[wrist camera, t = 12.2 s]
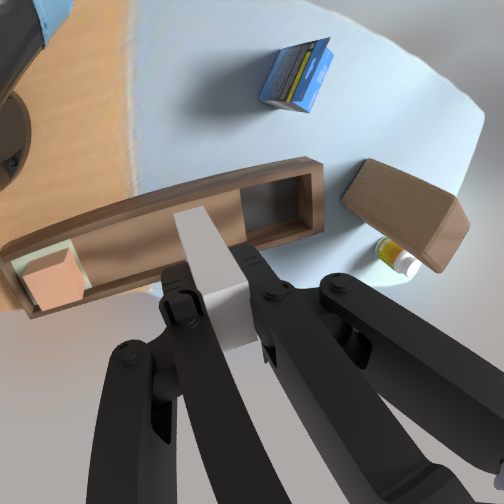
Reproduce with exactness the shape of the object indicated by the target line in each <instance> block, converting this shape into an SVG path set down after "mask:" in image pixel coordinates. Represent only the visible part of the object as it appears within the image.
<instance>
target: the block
mask: <svg viewBox="0 0 504 504" xmlns="http://www.w3.org/2000/svg"><path fill="white" fill-rule="evenodd" d="M341 201H342V203H343V205H344V206H345V207H347V208H348V209H349V210H350V211H352V212H353V213H354V214H356V215H357V216H358V217H359V218H361V219H362V220H363V221H365V222H366V223H367V224H368V225H370V226H371V227H373V228H374V229H376V230H377V231H379V232H380V233H382V234H383V235H385V236H386V237H387V238H389V239H390V240H392V241H393V242H395V243H396V244H397V245H399V246H400V247H402V248H403V249H404V250H406V251H407V252H409V253H410V254H411V255H413V256H414V257H415V258H417V259H418V260H419V261H421V262H422V263H423V264H425V265H426V266H427V267H429V268H430V269H431V270H433V271H434V272H435V273H442V272H443V271H444V269H445V268H446V266H447V265H448V263H449V261H450V260H451V258H452V257H453V255H454V254H455V252H456V250H457V249H458V247H459V246H460V244H461V242H462V240H463V239H464V237H465V235H466V234H467V232H468V230H469V228H470V223H469V221H468V219H467V217H466V215H465V213H464V211H463V209H462V207H461V205H460V203H459V201H458V199H457V198H456V197H455V195H453V194H451V193H449V192H447V191H445V190H442V189H440V188H438V187H436V186H434V185H432V184H430V183H428V182H426V181H423V180H421V179H419V178H417V177H415V176H412V175H410V174H408V173H405V172H403V171H401V170H398V169H396V168H394V167H391V166H389V165H386V164H384V163H381V162H379V161H376V160H374V159H367V160H366V161H365V163H364V164H363V166H362V167H361V169H360V170H359V172H358V174H357V175H356V177H355V178H354V180H353V181H352V183H351V184H350V186H349V188H348V189H347V191H346V192H345V194H344V195H343V197H342V200H341Z"/></svg>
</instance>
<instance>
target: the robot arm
mask: <svg viewBox="0 0 504 504" xmlns="http://www.w3.org/2000/svg"><path fill="white" fill-rule="evenodd" d="M73 4H74V0H0V191H1V190H3V189H4V188H5V187H6V186H8V185H9V184H10V183H11V182H12V181H13V180H14V179H15V178H16V177H17V176H18V174H19V173H20V171H21V170H22V168H23V166H24V164H25V161H26V159H27V156H28V153H29V149H30V143H31V122H30V117H29V113H28V110H27V108H26V105H25V103H24V102H23V100H22V99H21V97H20V96H19V95H18V94H17V93H16V92H14V91H13V89H14V87H15V86H16V84H17V83H18V81H19V80H20V79H21V77H22V76H23V74H24V73H25V71H26V70H27V69H28V67H29V66H30V65H31V63H32V62H33V61H34V59H35V58H36V57H37V55H38V54H39V53H40V51H41V50H44V49H45V48H46V47H47V45H48V44H49V40H50V39H51V37H52V36H53V35H54V34H55V32H56V31H57V30H58V29H59V28H60V26H61V25H62V24H63V23H64V22H65V21H66V19H67V18H68V17H69V15H70V14H71V12H72V9H73ZM173 215H174V219H175V223H176V227H177V230H178V234H179V238H180V241H181V245H182V249H183V252H184V256H185V260H186V262H184V263H180V264H177V265H174V266H170V267H167V268H164V270H163V272H162V274H161V283H162V289H163V294H164V296H163V297H162V299H161V300H160V302H159V310H160V312H161V314H162V317H163V319H164V321H165V324H166V326H167V327H166V328H165V330H164V332H163V333H162V334H161V335H160V336H159V337H157V338H156V339H154V340H152V341H151V342H149V343H147V344H146V343H145V342H143V341H141V340H129V341H125V342H123V343H121V344H120V345H118V346H117V347H116V348H115V349H114V351H113V352H112V355H111V356H110V360H109V364H108V368H107V372H106V377H105V381H104V386H103V391H102V395H101V400H100V405H99V410H98V415H97V421H96V426H95V432H94V439H93V445H92V452H91V459H90V468H89V476H88V486H87V497H86V504H177V476H176V434H177V431H176V430H177V397H179V396H180V395H182V394H183V397H184V401H185V404H186V408H187V411H188V415H189V419H190V422H191V426H192V429H193V432H194V435H195V439H196V442H197V445H198V448H199V451H200V454H201V458H202V460H203V464H204V467H205V469H206V472H207V475H208V478H209V480H210V484H211V486H212V489H213V492H214V494H215V497H216V500H217V502H218V504H292V503H291V501H290V499H289V497H288V495H287V493H286V491H285V490H284V487H283V486H282V484H281V482H280V480H279V478H278V476H277V474H276V472H275V470H274V468H273V466H272V463H271V461H270V459H269V457H268V455H267V453H266V451H265V449H264V447H263V445H262V443H261V440H260V438H259V436H258V434H257V432H256V429H255V427H254V425H253V423H252V421H251V419H250V416H249V414H248V412H247V409H246V407H245V405H244V402H243V400H242V398H241V396H240V393H239V391H238V389H237V386H236V384H235V381H234V379H233V377H232V374H231V372H230V369H229V367H228V364H227V362H226V360H225V357H224V354H223V352H225V351H228V350H230V349H234V348H237V347H240V346H242V345H246V344H248V343H251V342H254V341H257V334H258V336H259V338H260V340H261V343H262V349H263V357H264V362H265V364H266V363H267V362H268V361H269V363H270V365H271V367H272V369H273V371H274V373H275V374H276V376H277V378H278V380H279V382H280V384H281V385H282V387H283V389H284V391H285V393H286V394H287V397H288V398H289V400H290V402H291V404H292V406H293V407H294V409H295V411H296V412H297V415H298V416H299V418H300V420H301V422H302V423H303V425H304V427H305V429H306V430H307V432H308V434H309V436H310V438H311V439H312V441H313V443H314V444H315V446H316V448H317V450H318V451H319V453H320V455H321V457H322V458H323V460H324V462H325V463H326V465H327V467H328V469H329V470H330V472H331V474H332V475H333V477H334V479H335V480H336V482H337V484H338V485H339V487H340V488H341V490H342V492H343V494H344V495H345V497H346V498H347V500H348V502H349V503H350V504H493V503H481V502H475V501H474V499H473V498H472V497H471V495H470V494H469V493H468V491H467V490H466V489H465V487H464V486H463V485H462V483H461V482H460V481H459V479H458V478H457V477H456V475H455V474H454V473H453V472H452V471H451V470H450V469H448V468H447V467H445V466H443V465H440V464H435V463H432V462H430V461H429V460H428V459H427V458H426V457H425V456H424V455H423V453H422V452H421V450H419V448H418V447H417V445H416V444H415V443H414V441H413V440H412V439H411V437H410V436H409V435H408V434H407V432H406V431H405V429H404V428H403V427H402V425H401V424H400V423H399V421H398V420H397V419H396V417H395V416H394V415H393V413H392V412H391V411H390V410H389V408H388V407H387V406H386V404H385V403H384V402H383V401H382V399H381V398H380V396H382V397H383V398H384V399H386V400H387V401H388V402H389V403H390V404H392V405H393V406H394V407H396V408H397V409H398V410H399V411H401V412H402V413H403V414H404V415H406V416H407V417H408V418H410V419H411V420H412V421H413V422H415V423H416V424H417V425H419V426H420V427H421V428H423V429H424V430H425V431H426V432H428V433H429V434H430V435H432V436H433V437H434V438H436V439H437V440H438V441H440V442H441V443H442V444H444V445H445V446H446V447H447V448H449V449H450V450H451V451H453V452H454V453H455V454H457V455H458V456H460V457H461V458H462V459H464V460H465V461H466V462H468V463H470V464H471V465H473V466H474V467H476V468H478V469H480V470H483V471H485V472H488V473H491V474H495V475H497V476H496V478H495V479H494V487H495V488H496V489H497V490H502V489H503V490H504V372H502V371H501V370H499V369H498V368H496V367H495V366H493V365H492V364H491V363H489V362H487V361H486V360H484V359H483V358H481V357H480V356H478V355H477V354H476V353H474V352H472V351H471V350H470V349H468V348H466V347H465V346H463V345H462V344H460V343H459V342H457V341H456V340H454V339H453V338H451V337H450V336H448V335H446V334H445V333H443V332H442V331H440V330H439V329H437V328H436V327H434V326H432V325H431V324H429V323H428V322H426V321H424V320H423V319H421V318H420V317H418V316H417V315H415V314H414V313H412V312H410V311H409V310H407V309H405V308H404V307H402V306H401V305H399V304H397V303H396V302H394V301H393V300H391V299H389V298H388V297H386V296H384V295H383V294H381V293H380V292H378V291H376V290H375V289H373V288H371V287H370V286H368V285H366V284H365V283H363V282H362V281H360V280H358V279H357V278H355V277H353V276H351V275H349V274H345V273H332V274H329V275H327V276H325V277H324V278H323V279H322V280H321V282H320V285H319V287H317V288H308V289H297V288H295V287H294V286H293V285H292V284H290V283H289V282H286V281H283V280H280V279H279V278H278V277H277V275H276V274H275V273H274V271H273V270H272V269H271V267H270V266H269V265H268V263H267V262H266V261H265V259H264V258H263V257H262V256H261V254H260V253H259V252H258V250H257V249H256V248H255V247H253V246H251V245H249V244H247V243H245V244H242V245H238V246H235V247H232V248H228V247H227V246H226V244H225V242H224V240H223V239H222V237H221V235H220V234H219V232H218V230H217V229H216V227H215V225H214V224H213V222H212V220H211V219H210V217H209V215H208V213H207V212H206V210H205V208H204V207H203V206H200V207H196V208H193V209H189V210H185V211H182V212H178V213H175V214H173ZM256 332H257V333H256ZM376 392H377V393H378V394H379V395H380V396H379V395H378V394H377V393H376Z"/></svg>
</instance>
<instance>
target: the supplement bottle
mask: <svg viewBox="0 0 504 504" xmlns="http://www.w3.org/2000/svg"><path fill="white" fill-rule="evenodd" d="M375 254H376V256H377V257H378V258H379V259H381V260H382V261H383V262H384V263H386V264H387V265H388V266H389V267H391V268H392V269H393V270H394V271H396V272H397V273H403V274H405V275H406V276H407V277H412V276H413V275H414V274H415V273H416V272H417V271H418V269H419V266H420V262H419V260H417V259H416V258H415V257H414V256H413V255H411V254H410V253H409V252H407V251H406V250H404V249H403V248H402V247H400V246H399V245H397V244H396V243H395V242H393V241H392V240H390V239H389V238H387V237H386V236H385V237H383V238H381V239H380V240H379V242H378V243H377V245H376V248H375Z"/></svg>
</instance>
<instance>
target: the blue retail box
mask: <svg viewBox="0 0 504 504" xmlns="http://www.w3.org/2000/svg"><path fill="white" fill-rule="evenodd" d="M330 38H331V37H328V38H324V39H320V40H316V41H312V42H307V43H303V44H299V45H295V46H291V47H287V48H283V49H281V51H280V53H279V55H278V57H277V59H276V61H275V63H274V65H273V67H272V69H271V72H270V74H269V76H268V78H267V81H266V83H265V85H264V87H263V90H262V92H261V94H260V97H259V99H258V100H260V101H262V102H264V103H267V104H269V105H272V106H274V107H276V108H279V109H284V110H290V111H298V112H305V113H310V110H311V108H312V106H313V103H314V101H315V99H316V96H317V94H318V91H319V89H320V87H321V84H322V82H323V80H324V77H325V75H326V73H327V70H328V68H329V66H330V63H331V61H332V59H333V56H334V55H333V53H332V52H331V51H330V50H329V49H328V48H327V47H326V46H327V44H328V42H329V40H330Z"/></svg>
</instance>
